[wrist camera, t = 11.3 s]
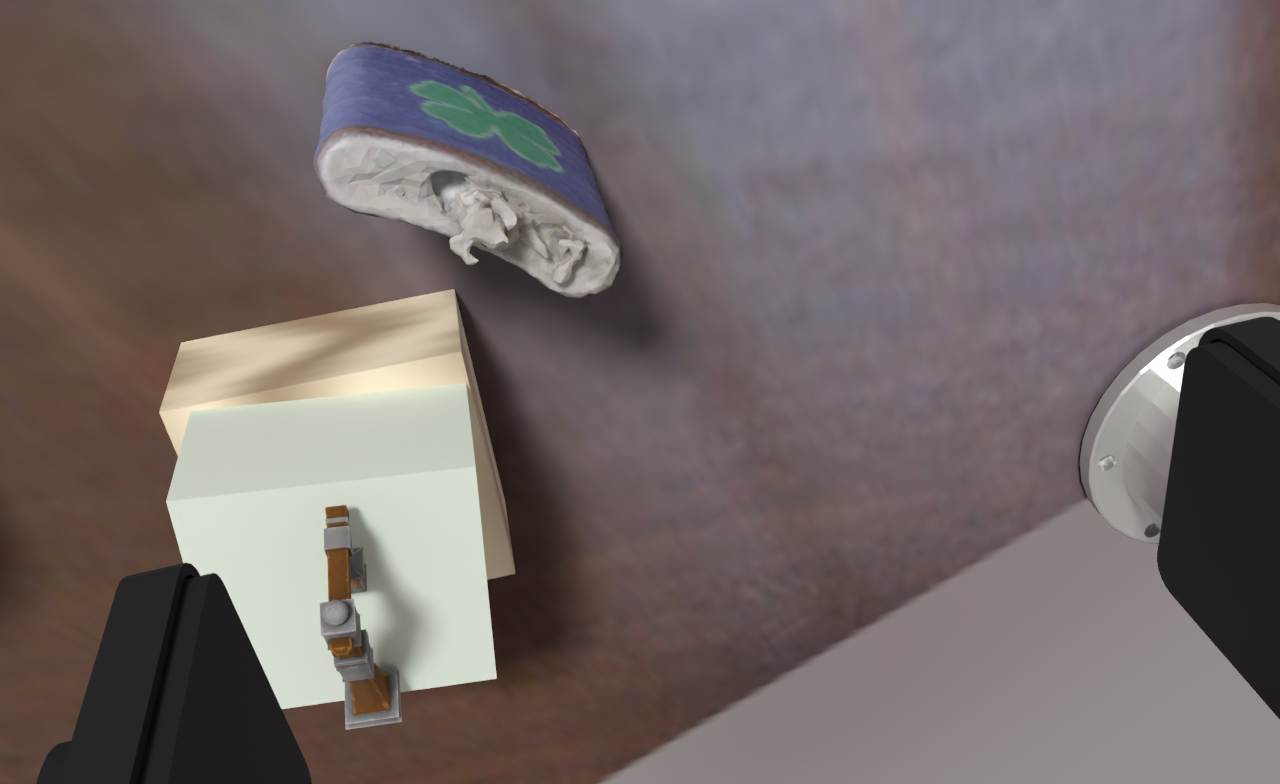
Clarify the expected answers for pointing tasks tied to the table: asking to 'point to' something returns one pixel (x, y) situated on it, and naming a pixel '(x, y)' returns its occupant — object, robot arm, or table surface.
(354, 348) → the bottom block
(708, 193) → the table surface
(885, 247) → the table surface
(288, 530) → the top block
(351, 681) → the wooden post with brackets
